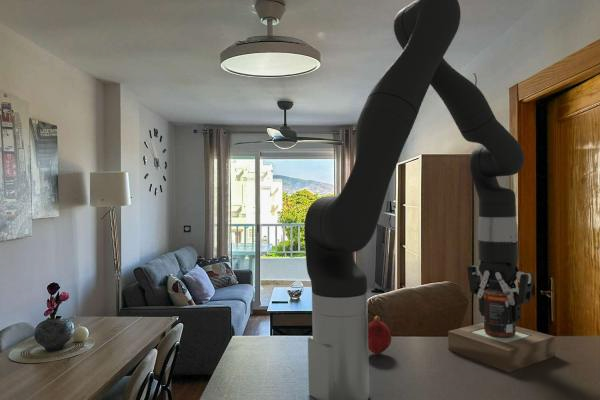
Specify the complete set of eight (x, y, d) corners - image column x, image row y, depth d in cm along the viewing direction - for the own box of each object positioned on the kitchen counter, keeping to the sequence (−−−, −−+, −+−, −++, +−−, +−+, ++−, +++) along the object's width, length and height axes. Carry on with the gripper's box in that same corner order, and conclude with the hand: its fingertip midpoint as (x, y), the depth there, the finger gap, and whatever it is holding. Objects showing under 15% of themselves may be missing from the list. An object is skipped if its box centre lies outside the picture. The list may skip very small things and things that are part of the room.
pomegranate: (392, 360, 85) (391, 320, 85) (363, 359, 86) (362, 320, 86) (390, 350, 90) (389, 313, 90) (363, 349, 91) (362, 312, 91)
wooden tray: (509, 372, 78) (508, 350, 78) (448, 349, 90) (448, 331, 90) (555, 356, 85) (554, 336, 85) (493, 337, 97) (493, 320, 97)
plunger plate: (505, 347, 82) (505, 342, 82) (471, 336, 89) (471, 332, 89) (529, 340, 86) (529, 335, 86) (495, 330, 93) (495, 326, 93)
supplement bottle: (519, 339, 84) (518, 282, 84) (487, 337, 85) (486, 281, 85) (511, 330, 90) (509, 277, 90) (481, 328, 91) (480, 276, 91)
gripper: (457, 237, 92) (458, 314, 92) (519, 242, 80) (521, 331, 79) (479, 235, 96) (481, 309, 96) (542, 239, 83) (544, 324, 83)
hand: (499, 318), depth 88 cm, fingers closed on supplement bottle, 6 cm apart
